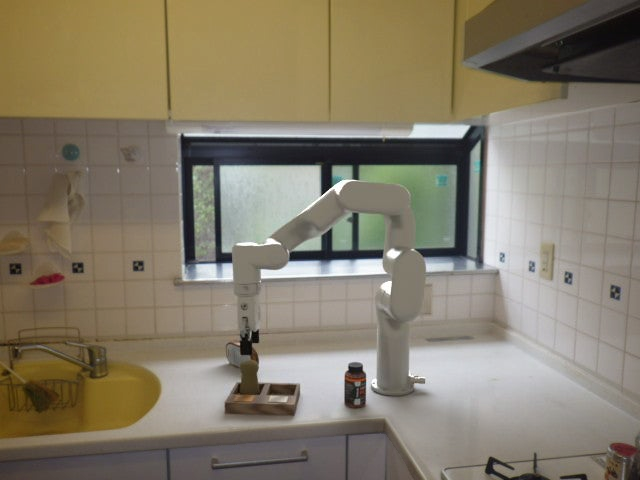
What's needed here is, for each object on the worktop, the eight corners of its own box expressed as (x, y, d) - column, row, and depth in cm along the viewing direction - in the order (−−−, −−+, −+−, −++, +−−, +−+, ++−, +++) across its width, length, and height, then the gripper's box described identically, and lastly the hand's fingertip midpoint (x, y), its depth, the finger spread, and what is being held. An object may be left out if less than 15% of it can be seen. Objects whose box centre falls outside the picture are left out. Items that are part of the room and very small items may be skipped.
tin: (259, 372, 165) (259, 347, 164) (252, 375, 163) (251, 349, 162) (232, 361, 176) (231, 337, 175) (224, 363, 173) (223, 339, 172)
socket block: (300, 393, 149) (300, 382, 149) (294, 415, 135) (294, 403, 135) (236, 391, 150) (236, 381, 150) (224, 413, 136) (224, 401, 136)
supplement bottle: (363, 410, 138) (363, 369, 137) (341, 407, 140) (342, 367, 139) (368, 401, 144) (368, 361, 143) (347, 398, 146) (347, 359, 144)
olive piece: (256, 404, 142) (255, 366, 140) (235, 402, 143) (234, 364, 142) (263, 395, 148) (263, 358, 146) (243, 393, 149) (242, 356, 148)
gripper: (255, 295, 133) (257, 359, 135) (266, 281, 150) (268, 338, 152) (226, 295, 133) (229, 359, 135) (240, 281, 150) (243, 339, 152)
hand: (250, 348), depth 144 cm, fingers open, 9 cm apart
